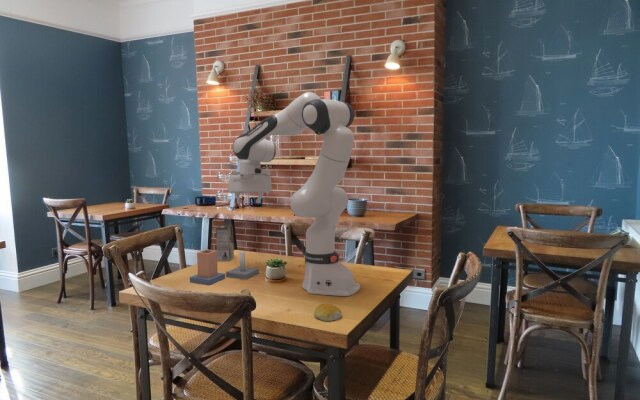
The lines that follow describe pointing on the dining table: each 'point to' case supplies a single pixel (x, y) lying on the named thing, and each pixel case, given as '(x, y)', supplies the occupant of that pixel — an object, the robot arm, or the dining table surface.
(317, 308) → the bread roll
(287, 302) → the dining table surface
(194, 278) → the peg base
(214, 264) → the sleeve
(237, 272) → the stand
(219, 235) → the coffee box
